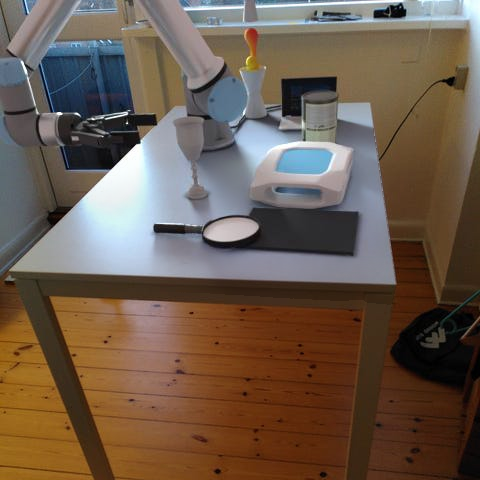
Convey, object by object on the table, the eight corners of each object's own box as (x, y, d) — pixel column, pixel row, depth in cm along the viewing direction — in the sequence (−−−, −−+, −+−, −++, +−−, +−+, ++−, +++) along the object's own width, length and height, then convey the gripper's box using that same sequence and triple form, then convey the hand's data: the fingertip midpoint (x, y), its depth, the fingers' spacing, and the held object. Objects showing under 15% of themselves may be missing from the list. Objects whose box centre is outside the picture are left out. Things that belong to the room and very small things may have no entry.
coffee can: (294, 145, 153) (293, 95, 144) (320, 137, 157) (322, 88, 148) (316, 154, 145) (317, 102, 137) (344, 145, 150) (346, 94, 141)
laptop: (278, 131, 164) (277, 87, 156) (281, 119, 174) (280, 78, 166) (335, 130, 161) (337, 85, 154) (335, 118, 171) (337, 75, 163)
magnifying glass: (167, 219, 119) (165, 210, 117) (267, 223, 111) (266, 214, 110) (144, 245, 109) (141, 236, 108) (251, 251, 102) (250, 242, 101)
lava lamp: (244, 111, 185) (237, -3, 164) (269, 110, 183) (265, -5, 162) (240, 118, 178) (232, 0, 157) (266, 118, 176) (261, -1, 155)
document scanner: (352, 165, 137) (354, 141, 133) (339, 211, 116) (341, 184, 112) (275, 162, 142) (274, 140, 139) (249, 206, 121) (248, 180, 117)
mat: (253, 210, 119) (252, 207, 119) (358, 214, 114) (358, 211, 113) (234, 248, 106) (234, 245, 105) (353, 255, 100) (353, 252, 100)
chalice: (215, 189, 130) (207, 116, 120) (206, 201, 125) (198, 125, 114) (188, 188, 132) (178, 116, 121) (178, 199, 127) (167, 125, 116)
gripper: (87, 129, 136) (164, 128, 132) (45, 163, 116) (134, 163, 113) (80, 99, 131) (160, 97, 128) (35, 130, 112) (128, 128, 108)
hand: (148, 128), depth 120 cm, fingers open, 13 cm apart
